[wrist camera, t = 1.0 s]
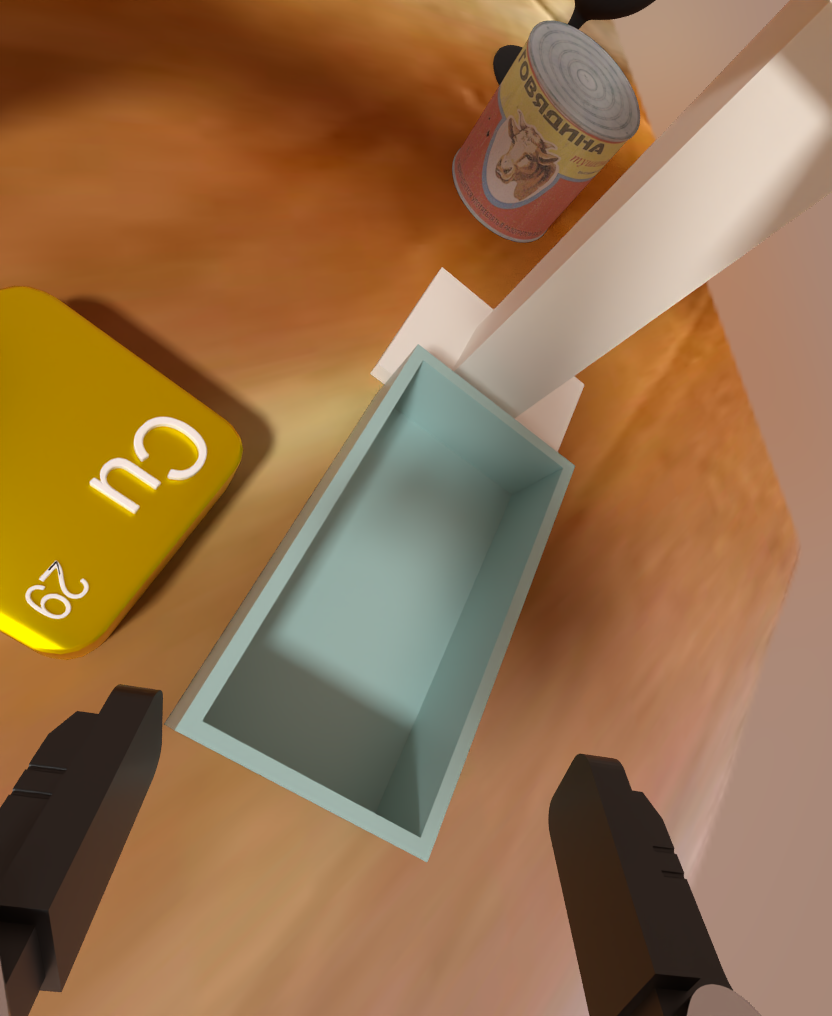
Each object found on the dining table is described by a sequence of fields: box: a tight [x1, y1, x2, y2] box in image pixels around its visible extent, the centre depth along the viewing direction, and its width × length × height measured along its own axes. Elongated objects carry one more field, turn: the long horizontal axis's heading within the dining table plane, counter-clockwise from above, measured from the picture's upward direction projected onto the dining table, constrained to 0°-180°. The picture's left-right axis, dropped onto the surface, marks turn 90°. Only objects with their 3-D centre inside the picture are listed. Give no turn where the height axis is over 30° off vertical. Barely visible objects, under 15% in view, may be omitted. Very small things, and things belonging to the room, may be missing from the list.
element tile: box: [0, 286, 243, 660], centre depth 30 cm, size 15×15×5 cm
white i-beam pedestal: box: [370, 0, 832, 452], centre depth 34 cm, size 12×18×32 cm, turn 63°
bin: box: [164, 344, 575, 862], centre depth 35 cm, size 26×14×7 cm, turn 153°
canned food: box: [452, 21, 640, 242], centre depth 51 cm, size 11×11×12 cm
